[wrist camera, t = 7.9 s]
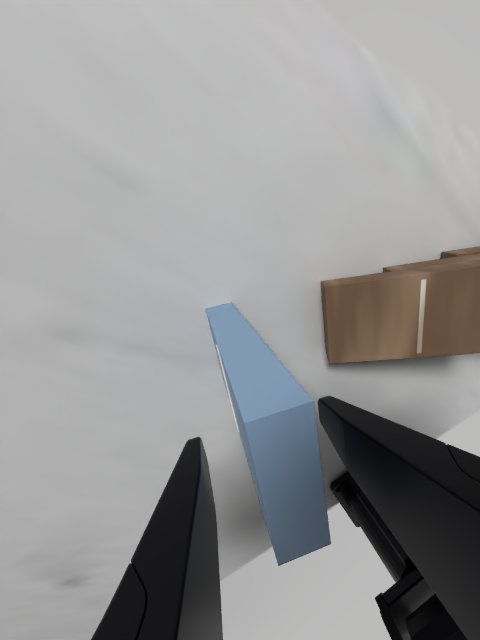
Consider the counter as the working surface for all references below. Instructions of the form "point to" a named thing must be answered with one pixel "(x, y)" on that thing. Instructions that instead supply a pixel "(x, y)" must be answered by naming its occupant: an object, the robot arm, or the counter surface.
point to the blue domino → (273, 435)
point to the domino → (403, 313)
